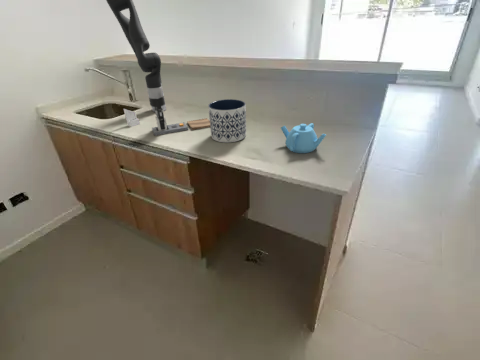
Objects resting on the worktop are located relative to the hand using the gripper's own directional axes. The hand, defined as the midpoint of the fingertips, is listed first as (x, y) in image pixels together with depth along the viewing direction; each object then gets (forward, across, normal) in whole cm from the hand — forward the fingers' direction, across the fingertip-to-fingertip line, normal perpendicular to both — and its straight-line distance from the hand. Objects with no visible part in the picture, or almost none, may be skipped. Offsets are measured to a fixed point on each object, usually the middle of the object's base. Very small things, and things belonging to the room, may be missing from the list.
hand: (162, 127), depth 147 cm
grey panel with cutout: (+2, 0, +4) cm, 4 cm away
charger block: (+2, 0, 0) cm, 2 cm away
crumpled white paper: (+3, -19, -14) cm, 24 cm away
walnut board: (+2, 0, +21) cm, 21 cm away
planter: (+3, +23, +30) cm, 38 cm away
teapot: (+3, +51, +55) cm, 75 cm away
